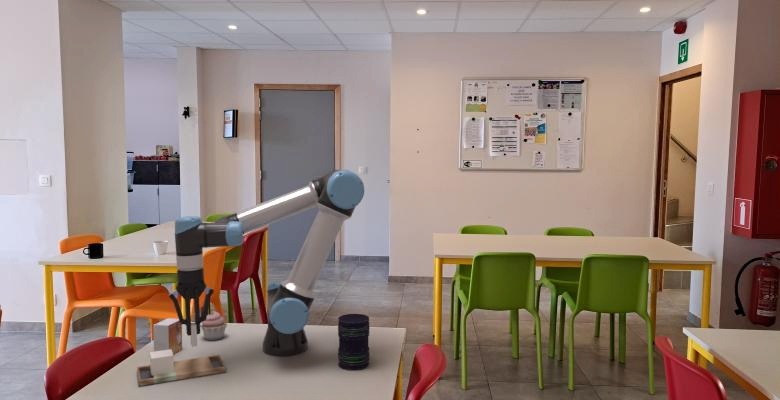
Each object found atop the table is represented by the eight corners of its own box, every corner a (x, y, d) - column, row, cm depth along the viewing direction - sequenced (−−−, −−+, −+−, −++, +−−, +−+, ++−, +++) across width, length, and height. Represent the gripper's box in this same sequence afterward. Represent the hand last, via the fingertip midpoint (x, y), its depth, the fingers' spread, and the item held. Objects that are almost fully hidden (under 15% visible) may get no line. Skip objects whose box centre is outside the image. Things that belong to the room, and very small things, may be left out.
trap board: (219, 359, 176) (219, 354, 176) (226, 372, 165) (226, 367, 165) (137, 372, 165) (137, 367, 165) (138, 386, 154) (138, 381, 154)
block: (171, 365, 166) (171, 349, 166) (173, 372, 161) (173, 355, 161) (150, 368, 164) (149, 352, 163) (151, 375, 158) (151, 358, 158)
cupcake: (195, 337, 197) (195, 310, 197) (220, 332, 204) (219, 305, 203) (207, 344, 190) (206, 315, 190) (232, 338, 197) (231, 311, 196)
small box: (168, 357, 177) (168, 325, 177) (153, 356, 178) (152, 324, 178) (182, 349, 185) (182, 318, 184) (168, 348, 186) (167, 317, 186)
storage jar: (353, 373, 165) (353, 324, 164) (331, 365, 172) (331, 318, 171) (376, 364, 172) (376, 317, 171) (354, 356, 179) (354, 311, 178)
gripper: (210, 263, 170) (214, 337, 172) (165, 268, 164) (169, 345, 166) (214, 267, 164) (218, 344, 165) (168, 272, 158) (172, 352, 160)
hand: (194, 344), depth 166 cm, fingers closed
